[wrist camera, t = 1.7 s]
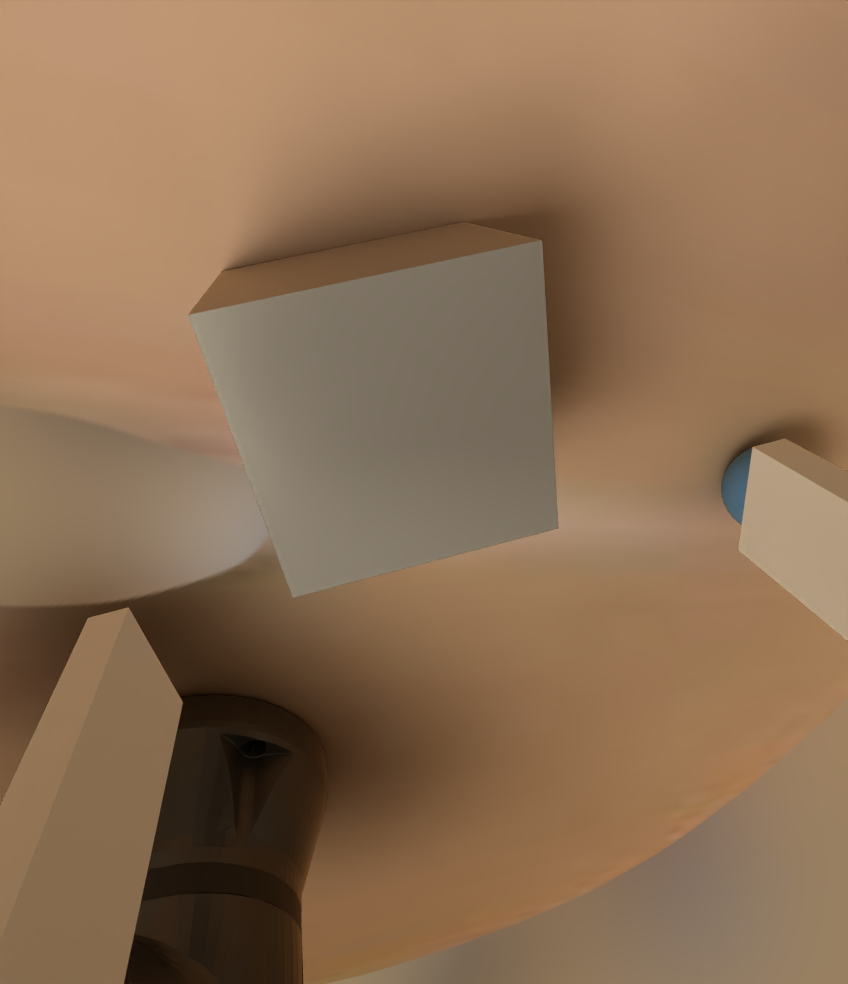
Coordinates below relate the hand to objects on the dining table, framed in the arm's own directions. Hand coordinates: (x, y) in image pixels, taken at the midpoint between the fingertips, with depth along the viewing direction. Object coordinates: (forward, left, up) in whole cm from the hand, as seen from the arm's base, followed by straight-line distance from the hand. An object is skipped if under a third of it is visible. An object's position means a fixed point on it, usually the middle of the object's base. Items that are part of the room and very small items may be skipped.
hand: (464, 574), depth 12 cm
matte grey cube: (0, 0, -16) cm, 16 cm away
